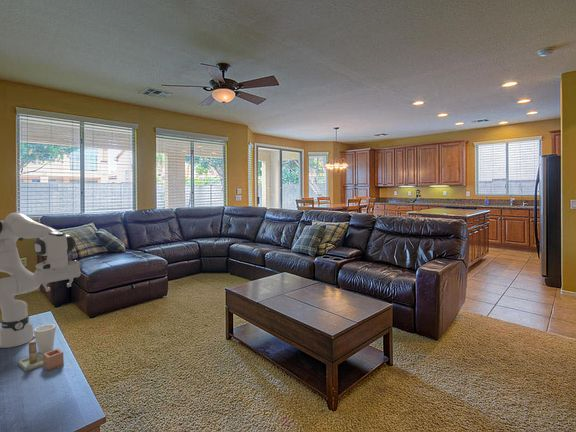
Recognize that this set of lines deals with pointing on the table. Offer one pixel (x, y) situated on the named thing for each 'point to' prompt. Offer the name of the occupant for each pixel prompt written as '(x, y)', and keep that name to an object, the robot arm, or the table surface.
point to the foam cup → (45, 337)
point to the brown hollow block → (53, 359)
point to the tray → (27, 366)
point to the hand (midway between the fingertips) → (58, 288)
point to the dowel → (32, 352)
